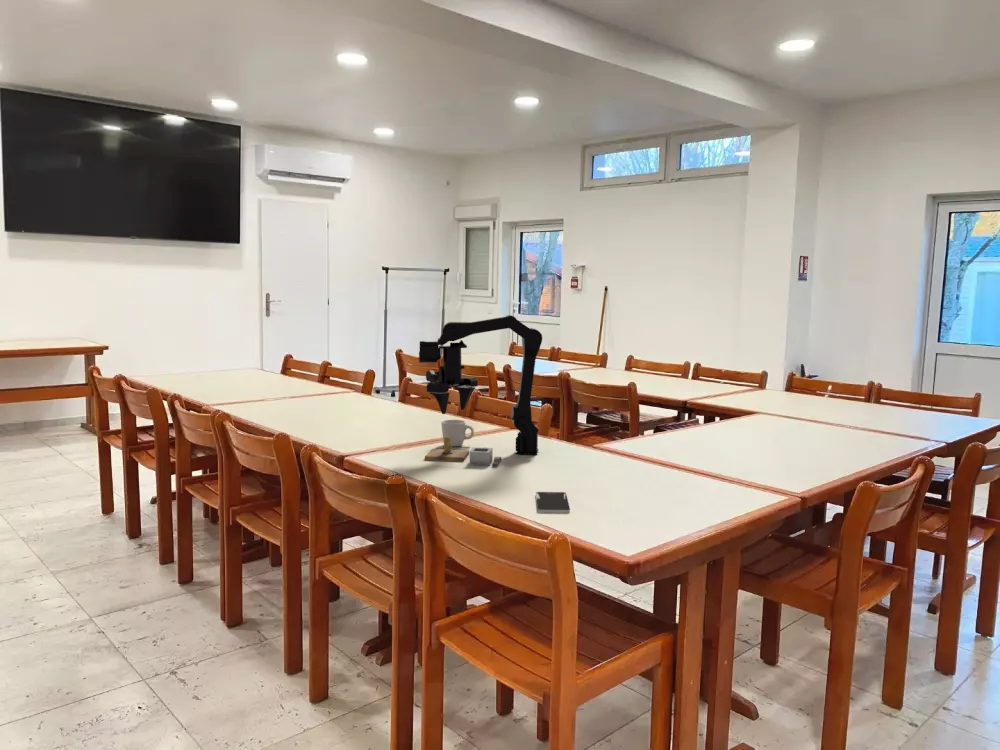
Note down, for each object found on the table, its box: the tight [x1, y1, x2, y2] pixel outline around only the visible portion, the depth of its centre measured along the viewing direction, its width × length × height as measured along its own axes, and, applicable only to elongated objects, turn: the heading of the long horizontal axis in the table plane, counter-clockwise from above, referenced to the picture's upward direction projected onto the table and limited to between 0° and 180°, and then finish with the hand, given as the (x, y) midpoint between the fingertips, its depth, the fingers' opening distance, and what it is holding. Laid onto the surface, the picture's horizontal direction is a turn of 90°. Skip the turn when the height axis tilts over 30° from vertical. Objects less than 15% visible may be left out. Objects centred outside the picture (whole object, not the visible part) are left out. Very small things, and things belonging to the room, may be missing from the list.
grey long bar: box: [491, 456, 502, 468], centre depth 219 cm, size 2×9×2 cm, turn 173°
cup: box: [441, 419, 475, 448], centre depth 243 cm, size 11×8×8 cm
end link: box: [469, 447, 494, 467], centre depth 219 cm, size 6×6×4 cm
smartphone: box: [535, 491, 571, 514], centre depth 179 cm, size 8×1×15 cm
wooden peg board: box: [424, 437, 470, 462], centre depth 227 cm, size 12×10×6 cm
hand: (453, 411), depth 230 cm, fingers open, 9 cm apart
